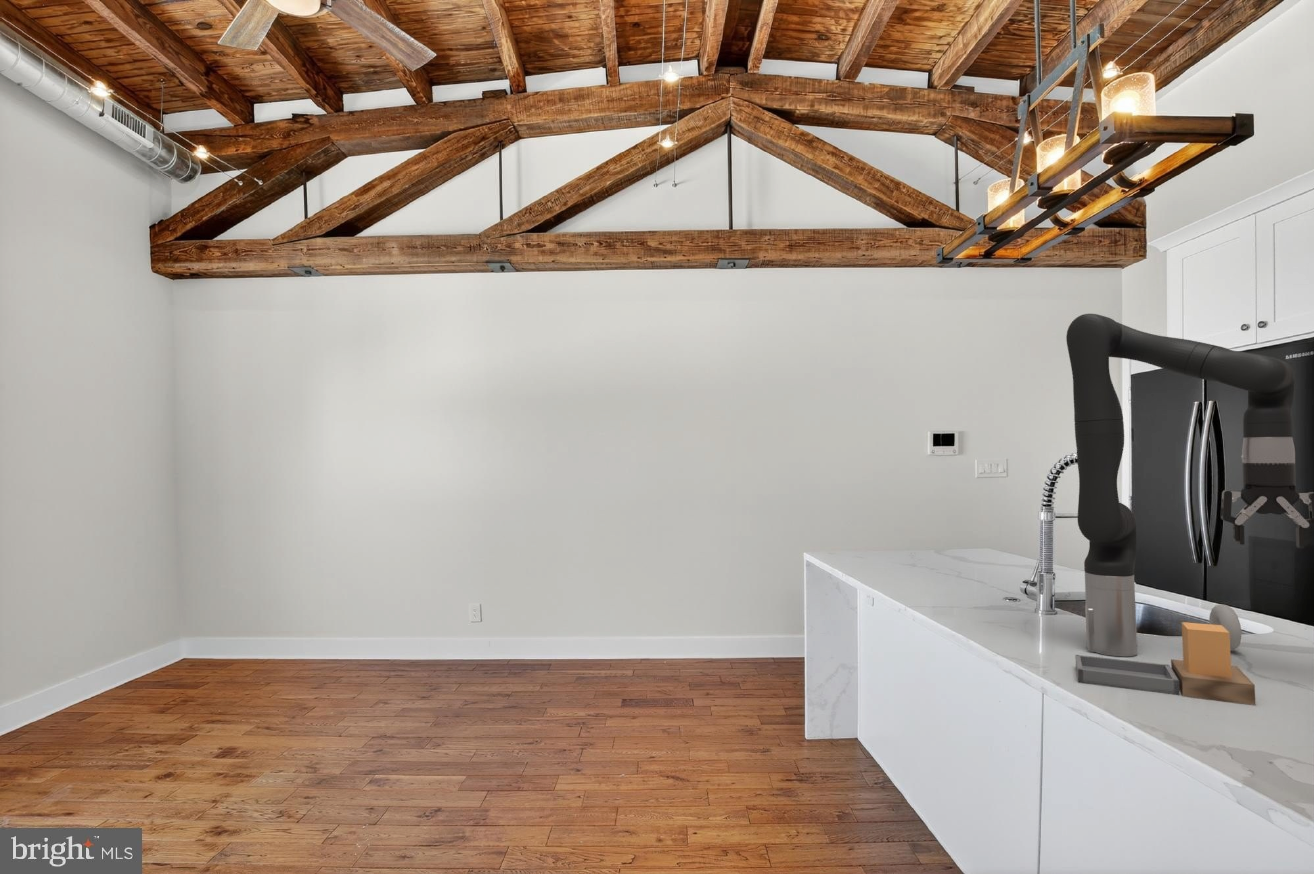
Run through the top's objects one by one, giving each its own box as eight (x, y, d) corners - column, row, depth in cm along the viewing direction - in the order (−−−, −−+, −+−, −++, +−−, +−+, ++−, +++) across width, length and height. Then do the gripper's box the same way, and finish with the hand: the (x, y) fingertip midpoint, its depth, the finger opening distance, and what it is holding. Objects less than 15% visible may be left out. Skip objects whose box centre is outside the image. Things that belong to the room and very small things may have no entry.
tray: (1078, 682, 130) (1078, 669, 130) (1075, 666, 140) (1075, 654, 140) (1179, 694, 122) (1179, 680, 122) (1169, 677, 132) (1169, 664, 132)
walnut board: (1183, 696, 122) (1182, 676, 122) (1171, 677, 132) (1171, 659, 132) (1255, 705, 117) (1254, 684, 117) (1237, 684, 127) (1237, 665, 127)
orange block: (1189, 672, 124) (1187, 628, 124) (1183, 664, 129) (1181, 621, 129) (1231, 677, 121) (1229, 632, 121) (1223, 668, 126) (1221, 625, 126)
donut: (1207, 643, 155) (1205, 599, 156) (1226, 644, 154) (1224, 600, 154) (1225, 655, 146) (1223, 608, 146) (1245, 656, 145) (1243, 609, 145)
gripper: (1223, 461, 130) (1225, 545, 130) (1325, 461, 123) (1327, 551, 122) (1217, 460, 137) (1218, 541, 136) (1312, 461, 129) (1315, 546, 129)
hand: (1270, 545), depth 129 cm, fingers open, 8 cm apart
